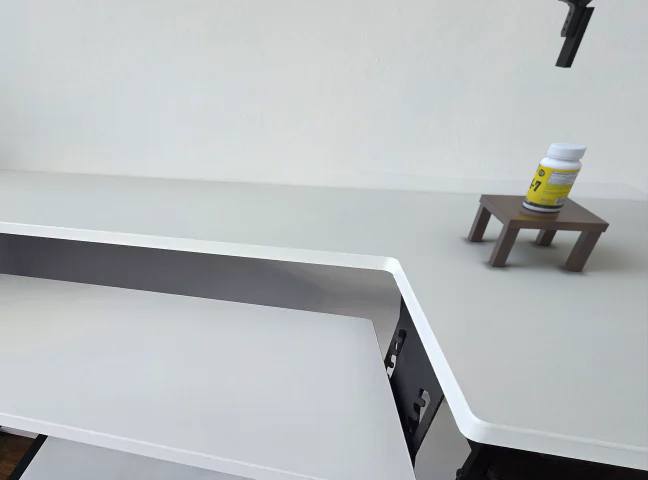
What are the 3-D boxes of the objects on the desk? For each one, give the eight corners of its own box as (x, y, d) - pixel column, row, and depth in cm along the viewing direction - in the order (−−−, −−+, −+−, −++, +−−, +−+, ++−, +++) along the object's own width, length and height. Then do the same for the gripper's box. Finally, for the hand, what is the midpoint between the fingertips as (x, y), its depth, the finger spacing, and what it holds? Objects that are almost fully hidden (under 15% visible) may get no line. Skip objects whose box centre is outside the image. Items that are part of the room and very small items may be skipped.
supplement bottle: (519, 201, 74) (545, 140, 69) (557, 204, 72) (586, 142, 67) (524, 210, 70) (551, 147, 65) (563, 214, 69) (594, 150, 64)
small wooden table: (546, 241, 79) (567, 197, 75) (583, 272, 70) (609, 223, 66) (465, 237, 81) (481, 194, 77) (490, 267, 72) (510, 219, 68)
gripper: (612, -165, 52) (527, 70, 64) (906, -193, 48) (754, 65, 60) (576, -147, 58) (505, 65, 70) (835, -170, 53) (710, 60, 66)
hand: (620, 66), depth 65 cm, fingers open, 13 cm apart
